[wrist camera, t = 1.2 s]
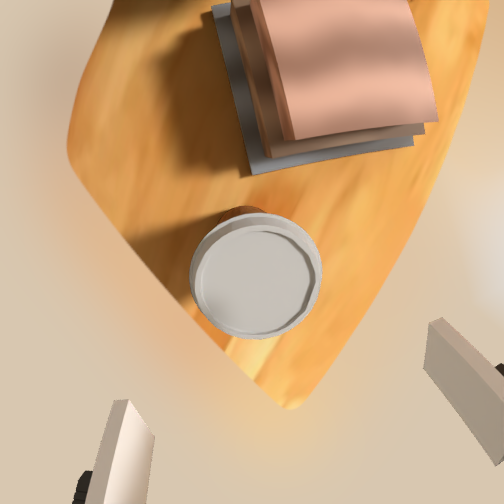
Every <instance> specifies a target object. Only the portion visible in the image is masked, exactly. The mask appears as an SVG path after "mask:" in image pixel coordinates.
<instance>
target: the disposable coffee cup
mask: <svg viewBox="0 0 504 504" xmlns="http://www.w3.org/2000/svg"><path fill="white" fill-rule="evenodd" d="M321 280H322V262H321V258H320V254H319V251H318V249H317V247H316V245H315V243H314V241H313V240H312V239H311V238H310V236H309V235H308V234H307V232H306V231H305V230H303V229H302V228H301V227H300V226H298V225H297V224H296V223H294V222H292V221H291V220H288V219H286V218H284V217H281V216H278V215H274V214H268V213H266V212H264V211H263V210H261V209H259V208H256V207H252V206H239V207H236V208H233V209H231V210H230V211H228V212H227V213H225V214H224V215H223V216H222V217H221V219H220V220H219V222H218V224H217V225H216V227H215V228H214V229H213V230H211V231H210V232H209V233H208V234H207V235H206V236H205V237H204V239H203V240H202V241H201V242H200V244H199V245H198V247H197V249H196V251H195V253H194V255H193V258H192V261H191V266H190V271H189V283H190V288H191V293H192V296H193V298H194V301H195V303H196V304H197V306H198V308H199V309H200V311H201V312H202V313H203V314H204V315H205V316H206V318H207V319H208V320H209V321H210V322H211V323H212V324H213V325H214V326H215V327H216V328H218V329H220V330H222V331H223V332H225V333H227V334H229V335H232V336H235V337H239V338H242V339H265V338H270V337H274V336H278V335H280V334H283V333H285V332H287V331H289V330H291V329H292V328H294V327H295V326H296V325H298V324H299V323H300V322H301V321H302V320H303V319H304V318H305V317H306V316H307V315H308V313H309V312H310V311H311V310H312V308H313V306H314V304H315V302H316V300H317V297H318V294H319V290H320V284H321Z"/></svg>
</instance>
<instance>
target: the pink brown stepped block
mask: <svg viewBox="0 0 504 504" xmlns="http://www.w3.org/2000/svg"><path fill="white" fill-rule="evenodd" d="M211 9H212V14H213V18H214V22H215V26H216V30H217V34H218V37H219V41H220V45H221V49H222V53H223V57H224V61H225V65H226V69H227V73H228V77H229V81H230V85H231V90H232V94H233V98H234V102H235V106H236V110H237V114H238V118H239V123H240V127H241V131H242V135H243V139H244V144H245V148H246V152H247V156H248V161H249V165H250V169H251V173H252V175H256V174H261V173H265V172H270V171H274V170H279V169H283V168H288V167H293V166H297V165H302V164H307V163H312V162H317V161H323V160H328V159H333V158H339V157H344V156H350V155H356V154H362V153H368V152H374V151H380V150H387V149H393V148H400V147H408V146H414V142H413V135H421V134H425V130H424V124H423V123H425V122H439V120H438V114H437V108H436V103H435V98H434V93H433V88H432V84H431V79H430V75H429V71H428V67H427V63H426V59H425V55H424V51H423V48H422V44H421V41H420V38H419V34H418V31H417V28H416V25H415V22H414V19H413V16H412V13H411V10H410V8H409V5H408V2H407V0H231V2H230V3H225V4H219V5H214V6H211Z"/></svg>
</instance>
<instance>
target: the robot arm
mask: <svg viewBox="0 0 504 504" xmlns="http://www.w3.org/2000/svg"><path fill="white" fill-rule="evenodd" d="M423 369H424V370H425V371H426V372H427V374H428V375H429V376H430V377H431V379H432V380H433V381H434V383H435V384H436V385H437V387H438V388H439V389H440V390H441V392H442V393H443V394H444V396H445V397H446V398H447V400H448V401H449V402H450V404H451V405H452V406H453V407H454V409H455V410H456V412H457V413H458V414H459V416H460V417H461V418H462V419H463V421H464V422H465V424H466V425H467V426H468V428H469V429H470V430H471V432H472V433H473V435H474V436H475V437H476V439H477V440H478V442H479V443H480V444H481V446H482V447H483V449H484V450H485V452H486V453H487V454H488V456H489V457H490V459H491V460H492V462H493V463H494V465H495V466H497V465H498V464H500V463H501V462H502V461H504V364H502V363H501V364H499V365H497V366H496V367H493V365H491V363H490V362H489V361H488V360H486V358H485V357H483V355H482V354H480V353H479V351H477V350H476V349H475V348H474V347H473V346H472V345H471V344H470V343H469V342H468V341H467V340H466V339H465V338H464V337H463V336H462V335H461V334H460V333H459V332H458V331H456V330H455V329H454V328H453V327H452V326H451V325H450V324H449V323H448V322H447V321H446V320H445V319H443V318H440V319H437V320H435V321H433V322H430V323H429V327H428V336H427V345H426V353H425V360H424V368H423ZM154 440H155V436H154V435H153V434H152V432H151V431H150V429H149V428H148V427H147V425H146V424H145V422H144V421H143V420H142V418H141V417H140V415H139V414H138V412H137V411H136V409H135V408H134V406H133V405H132V403H131V402H130V400H129V399H127V400H117V401H114V402H113V405H112V408H111V412H110V415H109V418H108V421H107V424H106V428H105V431H104V434H103V438H102V441H101V445H100V448H99V451H98V455H97V459H96V462H95V466H94V469H93V471H85V472H84V473H83V474H82V476H81V477H80V479H79V480H78V484H77V487H76V493H75V495H74V501H73V502H72V504H146V499H147V491H148V483H149V475H150V468H151V461H152V453H153V447H154Z"/></svg>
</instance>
